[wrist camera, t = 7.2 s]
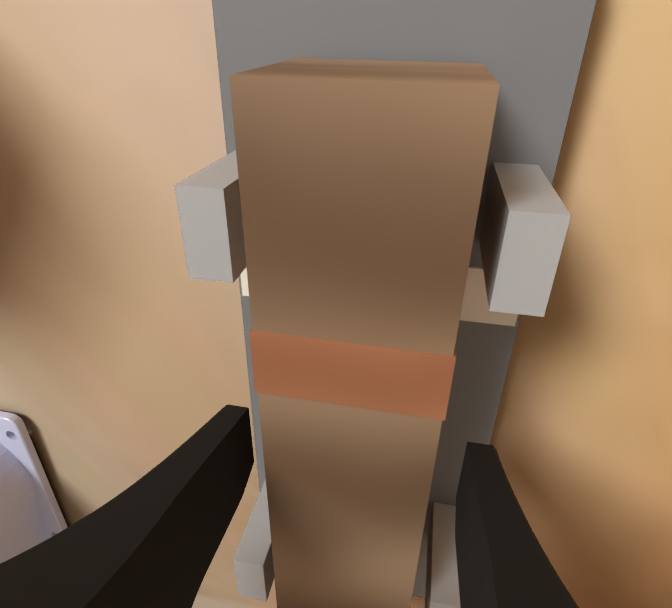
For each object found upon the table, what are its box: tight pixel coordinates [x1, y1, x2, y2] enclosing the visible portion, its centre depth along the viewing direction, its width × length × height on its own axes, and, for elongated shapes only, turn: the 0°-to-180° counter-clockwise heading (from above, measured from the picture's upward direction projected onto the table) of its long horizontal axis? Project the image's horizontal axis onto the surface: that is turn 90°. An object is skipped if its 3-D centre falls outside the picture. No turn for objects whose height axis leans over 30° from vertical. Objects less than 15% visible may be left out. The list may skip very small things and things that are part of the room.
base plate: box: [174, 0, 596, 608], centre depth 14 cm, size 22×8×4 cm, turn 179°
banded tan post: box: [229, 57, 500, 608], centre depth 13 cm, size 18×4×4 cm, turn 179°
